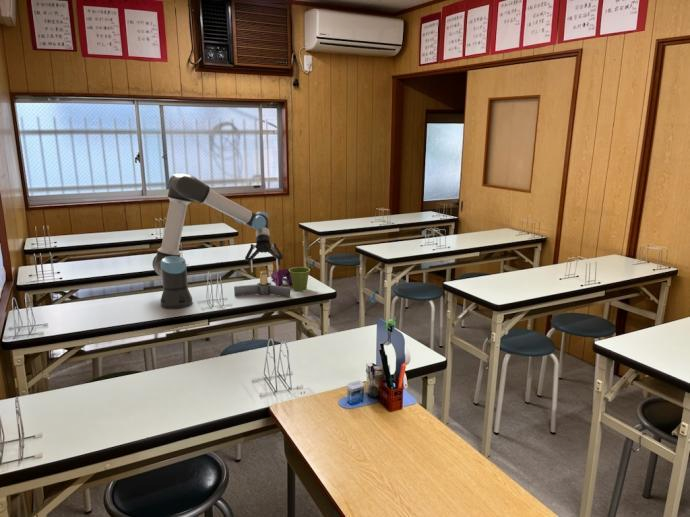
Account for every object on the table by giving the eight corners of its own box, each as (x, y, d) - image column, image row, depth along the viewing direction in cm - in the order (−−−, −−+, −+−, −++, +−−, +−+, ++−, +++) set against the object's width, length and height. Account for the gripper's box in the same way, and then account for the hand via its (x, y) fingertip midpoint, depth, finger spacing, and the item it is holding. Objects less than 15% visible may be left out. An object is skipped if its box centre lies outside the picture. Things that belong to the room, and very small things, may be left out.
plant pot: (314, 287, 277) (314, 268, 274) (303, 294, 267) (303, 273, 264) (296, 284, 282) (295, 265, 279) (284, 290, 272) (284, 271, 269)
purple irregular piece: (271, 290, 292) (279, 285, 275) (269, 276, 293) (276, 270, 277) (286, 288, 295) (295, 283, 279) (284, 274, 297) (293, 268, 280)
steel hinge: (233, 295, 263) (233, 286, 262) (238, 290, 272) (238, 281, 271) (289, 297, 261) (289, 288, 260) (292, 291, 271) (292, 282, 269)
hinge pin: (259, 294, 266) (258, 272, 263) (261, 291, 270) (260, 270, 267) (267, 294, 266) (266, 272, 263) (268, 292, 269) (267, 270, 266)
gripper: (285, 240, 283) (287, 273, 273) (240, 241, 278) (241, 275, 268) (285, 233, 277) (288, 266, 266) (239, 234, 272) (240, 268, 261)
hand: (264, 270), depth 267 cm, fingers open, 13 cm apart
